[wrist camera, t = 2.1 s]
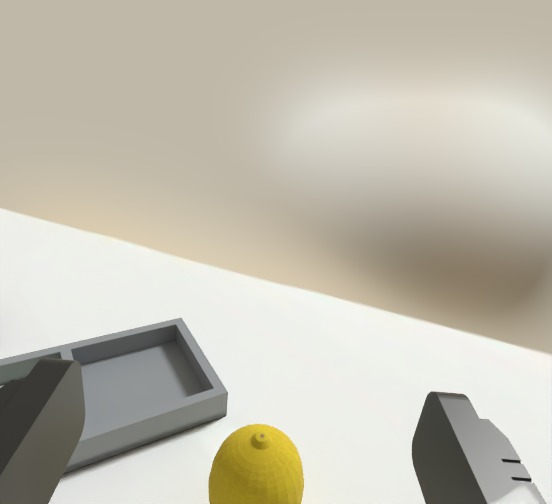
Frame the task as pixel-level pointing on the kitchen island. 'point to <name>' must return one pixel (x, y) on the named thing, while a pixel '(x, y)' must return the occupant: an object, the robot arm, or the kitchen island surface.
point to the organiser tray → (134, 387)
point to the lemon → (256, 468)
